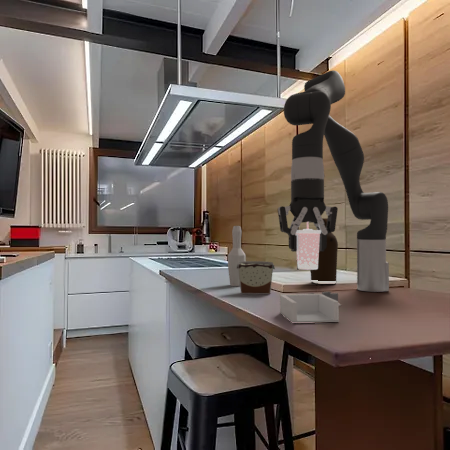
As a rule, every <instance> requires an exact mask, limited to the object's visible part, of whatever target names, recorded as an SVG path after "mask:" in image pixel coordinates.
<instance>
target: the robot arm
mask: <svg viewBox="0 0 450 450" xmlns="http://www.w3.org/2000/svg"><path fill="white" fill-rule="evenodd" d="M303 88H304V89H303V90H304V91H301V92H296V93H294V94H293V93H292V94H291V95H289V97H287V99H286V100H285V103H284V106H283V115H284V118H285V121H286V122H287V123H288V124H290V125H292V126H304V125H311V127H310V128H309V129H308V130H306V131H304V132H300V133H297V134H296V135H295V136H293V138H292V141H291V167H290V203H289V205H287V206H284V205H283V206H282V205H281V206H278V207H277V215H278V216H277V217H278V222H279V230H280V232H281V233H284V234H287V235H288V249H289V250H290V251H291V252H292V253H293V252H295V253H297V235H296V232H297V230H299V228H300V226H301V225H302V223H307V222H309V223H312V224H313V225H314V227H315V228H316V230H321V234H320V241H319V251H324V249H326V247H327V234H328V233H331V232H332V233H334V232H335V231H336V223H337V216H338V207H337V206H327V205H326V204H325V177H326V176H325V166H324V159H323V158H324V157H323V156H324V154H323V153H324V149H323V148H324V147H323V146H324V145H323V144H324V138H325V141H326V143H327V146H328V149H329V153H330V154H331V156H332V159H333V161H334V164H335V166H336V168H337V170H338V173H339V175H340V178H341V181H342V184H343V187H344V190H345V192H346V196H347V200H348V203H349V206H350V209H351V212H352V215H354V217H355V218H356V219H358V220H360V221H365V220H366V221H367V220H368V221H370V222H369V224H368V225H367V226H366V227H365V228H362V229H359V230H358V231H357V233H356V287H357V288H356V289H357V290H358V291H362V292H369V293H370V292H372V293H377V292H378V293H379V292H382V293H384V292H388V291H390V275H389V274H390V268H389V267H390V264H389V262H388V261H387V233H388V222H389V221H388V219H389V218H388V217H389V201H388V197H387V195H386V194H385V193H384V192H382V191H374V192H373V191H372V192H364V191H363V189H362V186H361V182H360V177H361V173H362V171H363V170H362V169H363V167H364V161H365V155H364V151H363V149H362V146H361V143H360V141H359V139H358V136H357V135H356V134H354V132H352V131H350V130H349V129H348V128H346V127H344V126H343V125H342V124H340V123H339V122H338V121H336V120H335V119H334V118H333V117H332V116H331V115H330V114H331V108H332V107H331V105H333V104H336V103H338V102H339V101H341V100H343V98H345V95H346V87H345V83H344V79H343V77H342V76H341V74H340V73H339V71H337V70H333V69H332V70H329V71H326V72H324V73H322V74H320V75H318V76H316V77H314V78H311V79H309V80H307V81H306V82H305V83H304V86H303ZM289 212H291V214H292V216H293V218H292V221H291V223H290V226H289V227H288V218H287V216H288V215H289ZM324 213H325V214H326V216H327V217H326V218H327V226H326V227H325V225H324V221H323V219H322V218H323V217H322V215H323V214H324Z"/></svg>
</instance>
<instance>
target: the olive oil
mask: <svg viewBox="0 0 450 450" xmlns="http://www.w3.org/2000/svg"><path fill="white" fill-rule="evenodd" d="M327 218H328V217H326V218H324V217H322V219H323V221H324V225H325V227H326V226H327ZM338 243H339V242H338V239H337V237H336V235H335V234H334V232H331V233H328V234H327V247H326V249H324V251H319V258H318V269H316V270H309V271H310V281H311V280H318V281H336V282H337V274H338V273H337V272H338V271H337V270H338V269H337V268H338V252H339V251H338V248H339V244H338Z"/></svg>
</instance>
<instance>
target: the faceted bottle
mask: <svg viewBox="0 0 450 450" xmlns="http://www.w3.org/2000/svg"><path fill="white" fill-rule="evenodd" d="M231 232H232V235H231V236H232V248H231V249H230V251H229V253H228V254H227V268H228V276H229V286H231V287H240V279H239V269H236V268H237V264H238V262H244V261H247V260H246V259H247V256H246V253H245V252H244V250H243V249H242V232H243V231H242V227H241V226H240V225H233V227H232V230H231Z"/></svg>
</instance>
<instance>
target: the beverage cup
mask: <svg viewBox="0 0 450 450" xmlns="http://www.w3.org/2000/svg"><path fill="white" fill-rule="evenodd" d="M320 234H321V230H317V229H313V228H310V225H309V222H306V228H302V229H297V232H296V234H295V235H297V251H296V261H297V262H296V263H297V269H298V270H308V271H310V270H316V269H318V258H319V241H320Z"/></svg>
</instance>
